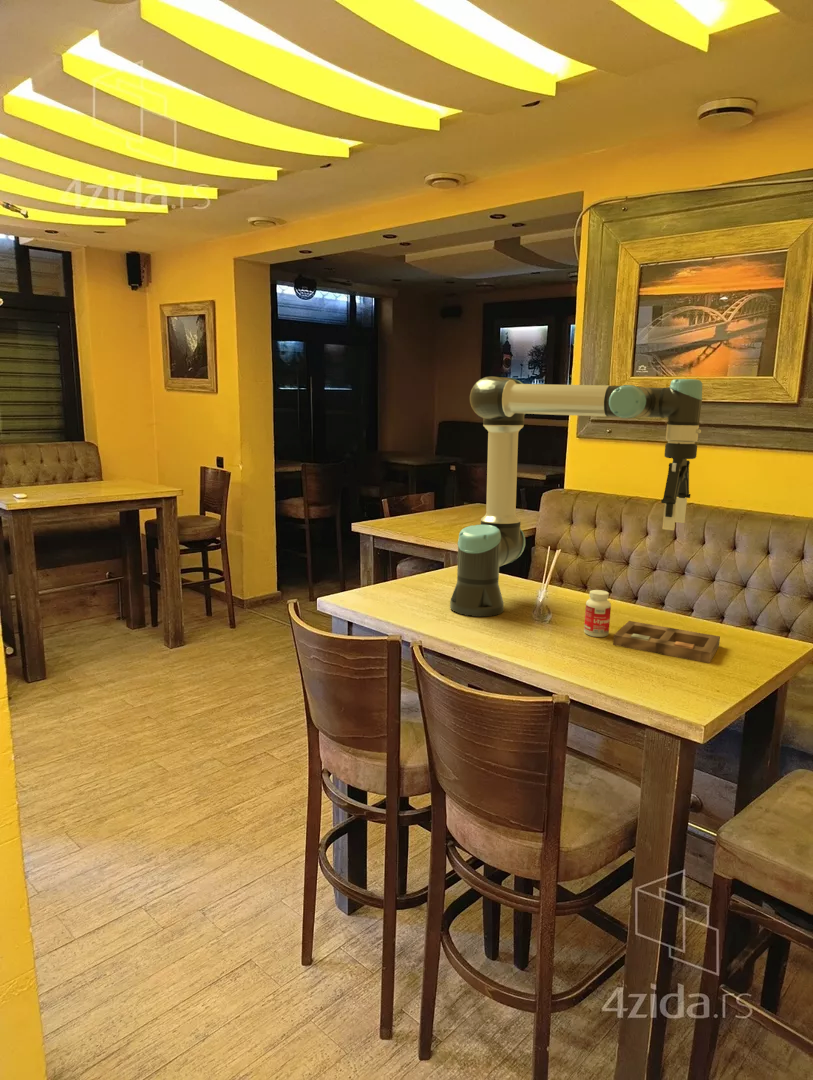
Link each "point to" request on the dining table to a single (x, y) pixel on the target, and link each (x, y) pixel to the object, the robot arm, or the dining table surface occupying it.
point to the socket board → (667, 641)
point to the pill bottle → (597, 614)
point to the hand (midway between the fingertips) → (673, 526)
